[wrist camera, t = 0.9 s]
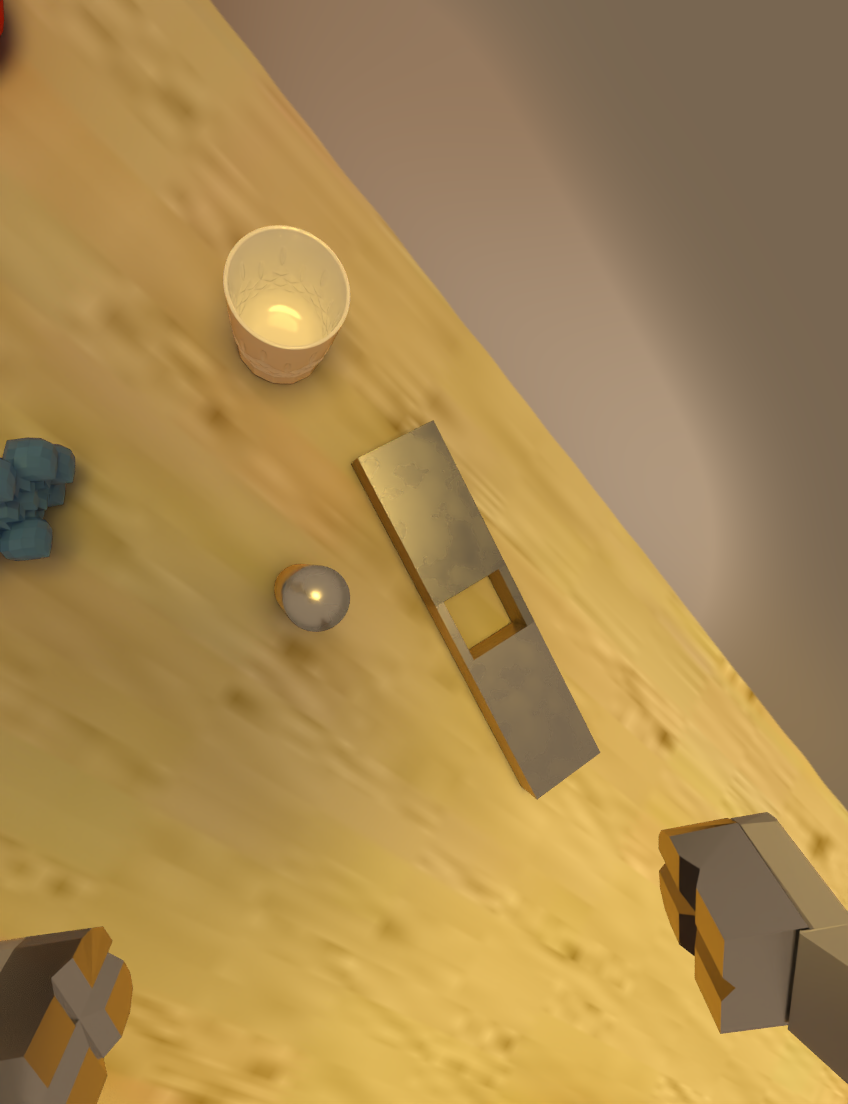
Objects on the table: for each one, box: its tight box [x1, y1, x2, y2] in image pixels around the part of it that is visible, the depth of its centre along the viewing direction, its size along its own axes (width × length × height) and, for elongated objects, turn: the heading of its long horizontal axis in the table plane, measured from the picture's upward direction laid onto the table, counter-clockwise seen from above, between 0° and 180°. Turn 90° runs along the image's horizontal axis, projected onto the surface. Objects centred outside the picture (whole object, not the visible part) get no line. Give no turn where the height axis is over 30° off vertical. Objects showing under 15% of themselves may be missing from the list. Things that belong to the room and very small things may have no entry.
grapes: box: [0, 438, 75, 561], centre depth 36 cm, size 12×7×12 cm, turn 139°
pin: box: [274, 564, 350, 632], centre depth 41 cm, size 4×4×12 cm
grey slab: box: [351, 421, 600, 799], centre depth 50 cm, size 32×7×3 cm, turn 29°
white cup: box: [223, 225, 350, 384], centre depth 42 cm, size 8×8×10 cm
